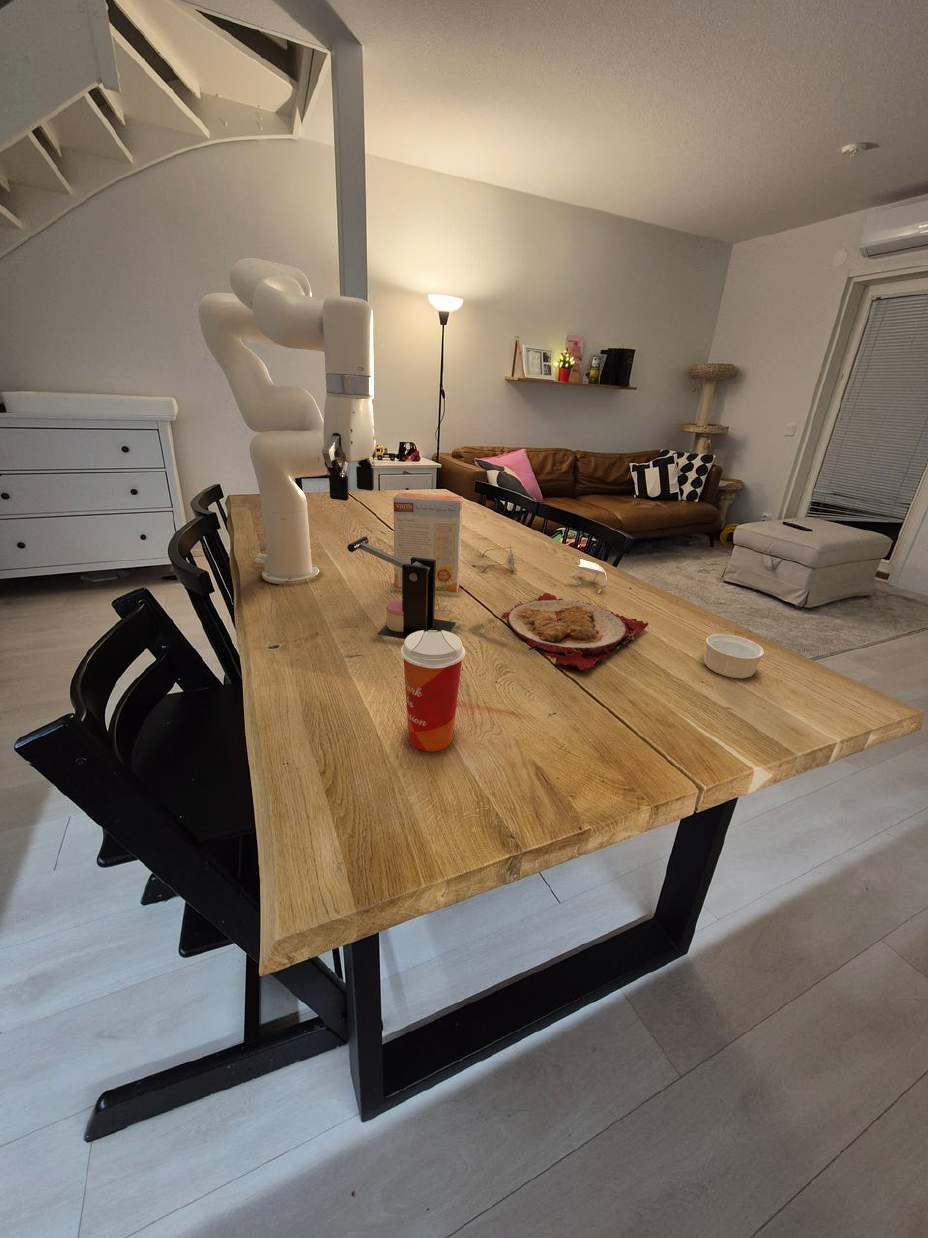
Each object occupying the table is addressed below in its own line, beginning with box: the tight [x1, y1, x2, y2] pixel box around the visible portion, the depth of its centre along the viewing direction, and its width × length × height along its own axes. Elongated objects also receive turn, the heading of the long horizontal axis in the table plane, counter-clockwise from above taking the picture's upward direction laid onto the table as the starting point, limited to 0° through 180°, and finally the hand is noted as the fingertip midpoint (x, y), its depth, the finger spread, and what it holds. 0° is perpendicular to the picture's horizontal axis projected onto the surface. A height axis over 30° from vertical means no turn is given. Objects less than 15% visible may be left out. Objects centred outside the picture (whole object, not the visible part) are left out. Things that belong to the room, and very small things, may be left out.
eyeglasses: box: [481, 545, 516, 573], centre depth 131 cm, size 14×8×4 cm, turn 179°
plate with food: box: [492, 592, 650, 671], centre depth 96 cm, size 24×26×3 cm
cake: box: [385, 599, 403, 632], centre depth 92 cm, size 6×6×4 cm
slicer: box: [377, 557, 458, 640], centre depth 89 cm, size 12×10×14 cm
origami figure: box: [568, 559, 608, 594], centre depth 119 cm, size 12×8×5 cm
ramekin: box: [703, 633, 765, 679], centre depth 85 cm, size 9×9×4 cm
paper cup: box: [400, 630, 466, 753], centre depth 62 cm, size 8×8×14 cm
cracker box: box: [392, 492, 463, 593], centre depth 109 cm, size 14×6×21 cm, turn 84°
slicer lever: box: [346, 536, 430, 573], centre depth 88 cm, size 14×6×2 cm, turn 75°
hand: (352, 494), depth 88 cm, fingers open, 9 cm apart
